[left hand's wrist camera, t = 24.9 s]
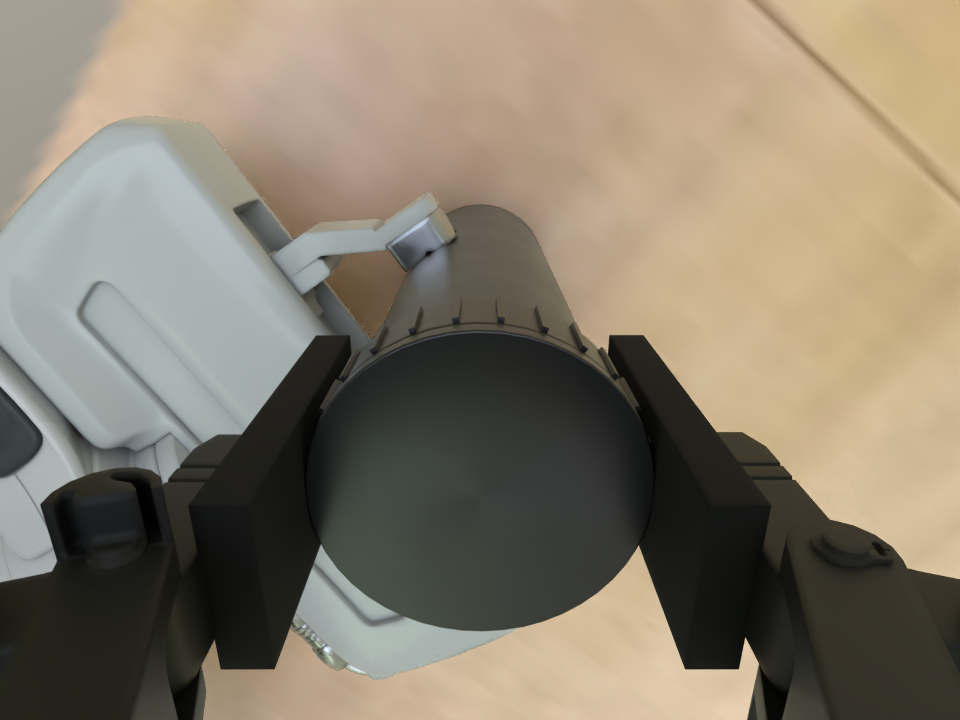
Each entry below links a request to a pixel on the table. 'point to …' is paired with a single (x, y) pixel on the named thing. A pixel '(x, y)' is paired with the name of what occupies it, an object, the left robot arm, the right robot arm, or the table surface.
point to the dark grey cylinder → (483, 267)
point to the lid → (479, 467)
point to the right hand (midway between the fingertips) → (503, 301)
